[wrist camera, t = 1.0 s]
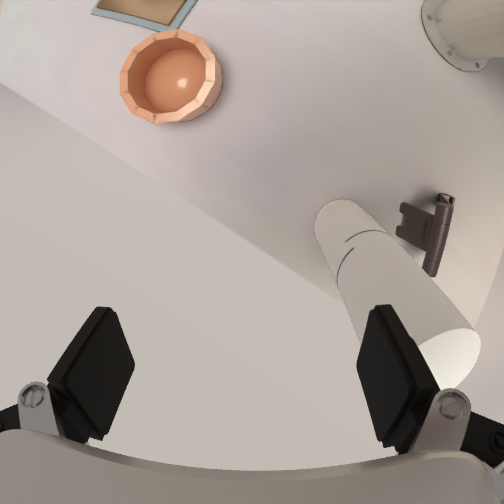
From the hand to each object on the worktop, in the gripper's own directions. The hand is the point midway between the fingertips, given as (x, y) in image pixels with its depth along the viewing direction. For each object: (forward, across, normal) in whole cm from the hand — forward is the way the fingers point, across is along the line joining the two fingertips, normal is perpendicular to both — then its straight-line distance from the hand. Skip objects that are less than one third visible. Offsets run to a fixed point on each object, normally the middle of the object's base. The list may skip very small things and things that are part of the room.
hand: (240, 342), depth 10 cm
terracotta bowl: (+27, +8, -13) cm, 31 cm away
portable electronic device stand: (+27, -23, +5) cm, 36 cm away
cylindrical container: (+27, -11, +6) cm, 30 cm away
